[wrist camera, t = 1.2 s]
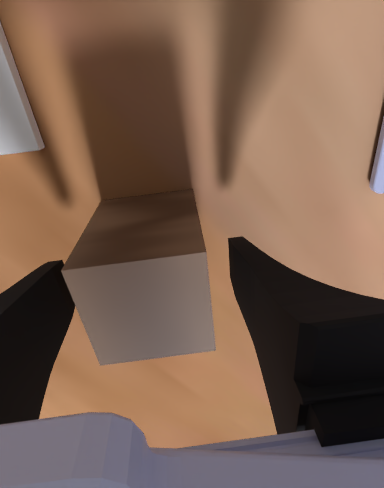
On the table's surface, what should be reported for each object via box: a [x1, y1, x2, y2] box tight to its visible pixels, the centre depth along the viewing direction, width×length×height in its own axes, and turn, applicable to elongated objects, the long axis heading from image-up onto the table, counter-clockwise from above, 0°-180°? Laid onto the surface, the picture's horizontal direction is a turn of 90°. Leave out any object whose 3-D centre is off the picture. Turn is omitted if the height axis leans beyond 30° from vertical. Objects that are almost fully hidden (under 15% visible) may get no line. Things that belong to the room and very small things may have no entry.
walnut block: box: [61, 189, 216, 366], centre depth 12 cm, size 4×4×6 cm
